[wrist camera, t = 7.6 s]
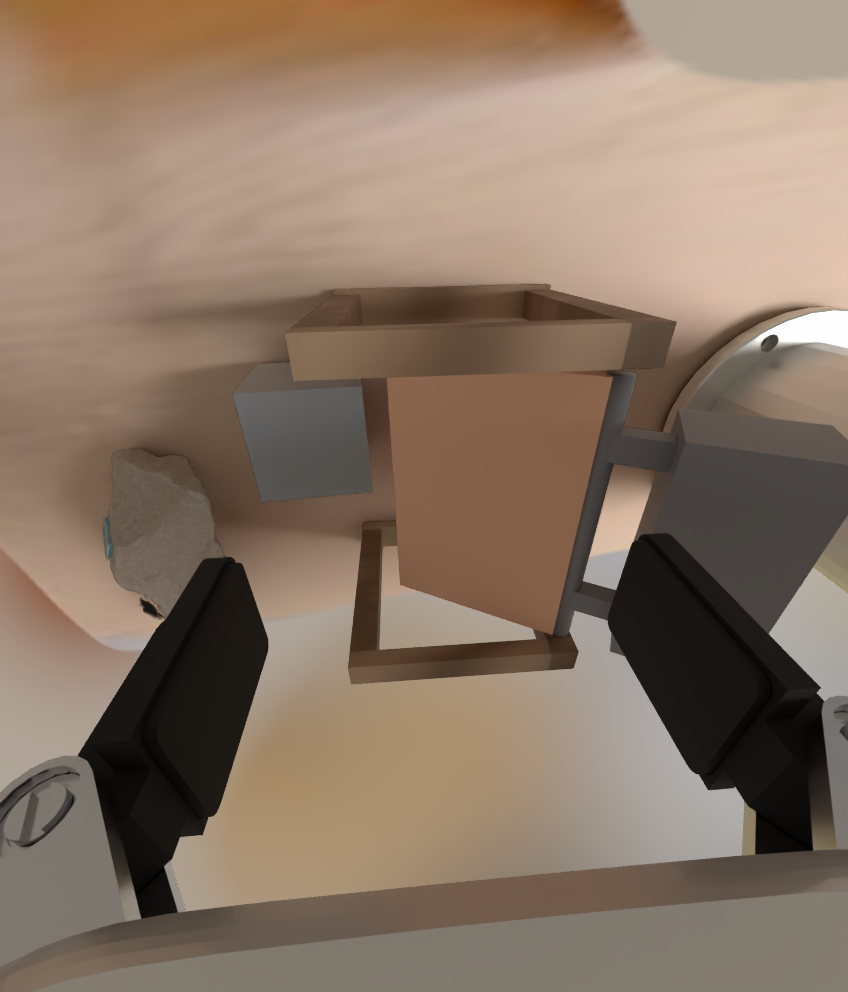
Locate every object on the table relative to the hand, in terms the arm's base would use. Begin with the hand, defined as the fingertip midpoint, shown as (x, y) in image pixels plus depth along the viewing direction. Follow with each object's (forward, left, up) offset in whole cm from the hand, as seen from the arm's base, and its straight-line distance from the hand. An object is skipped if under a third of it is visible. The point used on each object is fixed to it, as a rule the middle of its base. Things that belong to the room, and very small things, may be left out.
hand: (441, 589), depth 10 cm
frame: (-2, +2, -14) cm, 15 cm away
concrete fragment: (+15, +9, -15) cm, 23 cm away
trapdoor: (-6, +2, -7) cm, 9 cm away
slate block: (+2, 0, -12) cm, 12 cm away
